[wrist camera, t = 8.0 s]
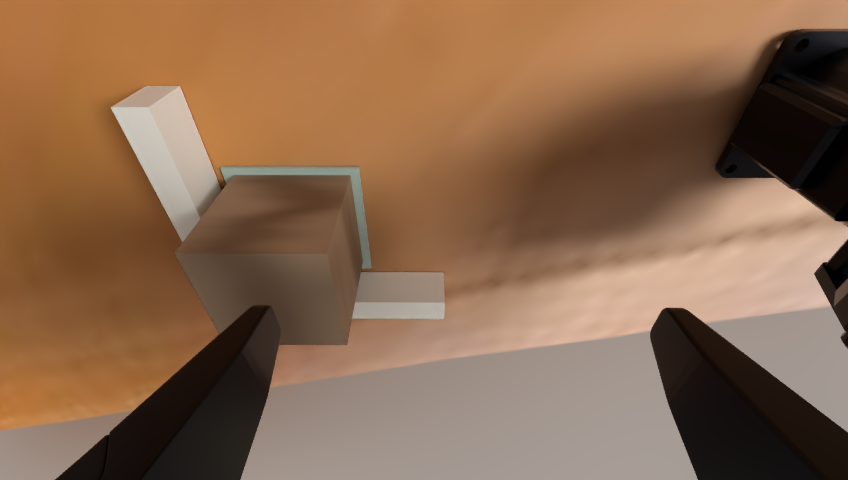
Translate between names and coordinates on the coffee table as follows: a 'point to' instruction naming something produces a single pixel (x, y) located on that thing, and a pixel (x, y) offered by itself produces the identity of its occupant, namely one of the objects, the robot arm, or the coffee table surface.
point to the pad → (316, 170)
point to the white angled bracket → (198, 187)
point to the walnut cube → (279, 254)
